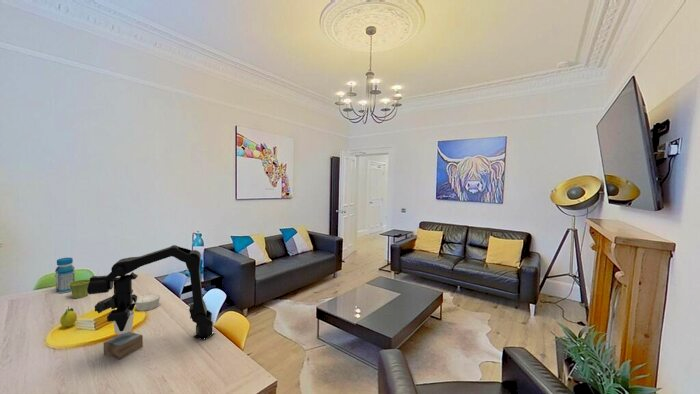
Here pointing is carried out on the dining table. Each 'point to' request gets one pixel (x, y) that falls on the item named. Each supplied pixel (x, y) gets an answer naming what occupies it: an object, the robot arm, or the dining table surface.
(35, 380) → the dining table surface
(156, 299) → the ramekin
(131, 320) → the shot glass
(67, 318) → the green pear
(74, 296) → the plant pot
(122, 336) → the walnut plinth
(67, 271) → the beverage bottle
